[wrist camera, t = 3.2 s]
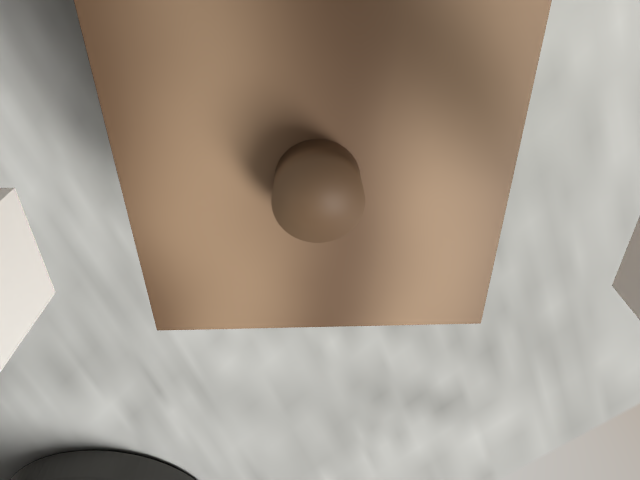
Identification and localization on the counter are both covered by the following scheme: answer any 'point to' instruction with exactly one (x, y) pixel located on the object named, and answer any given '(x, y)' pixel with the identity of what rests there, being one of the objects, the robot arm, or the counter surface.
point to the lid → (314, 152)
